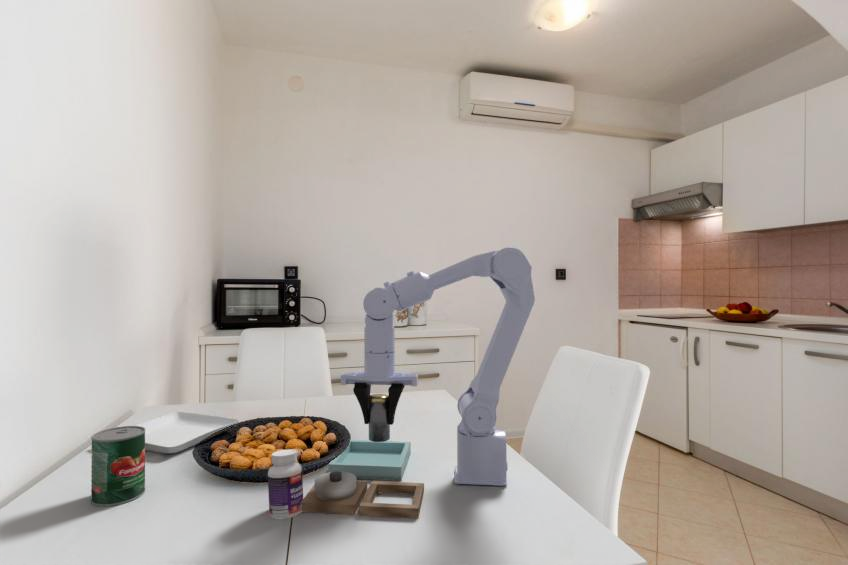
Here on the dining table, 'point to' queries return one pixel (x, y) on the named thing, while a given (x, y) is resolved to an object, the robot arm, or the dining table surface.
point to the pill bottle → (285, 485)
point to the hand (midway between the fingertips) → (379, 422)
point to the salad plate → (181, 430)
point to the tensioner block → (360, 496)
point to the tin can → (379, 418)
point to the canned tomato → (118, 465)
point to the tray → (373, 459)
